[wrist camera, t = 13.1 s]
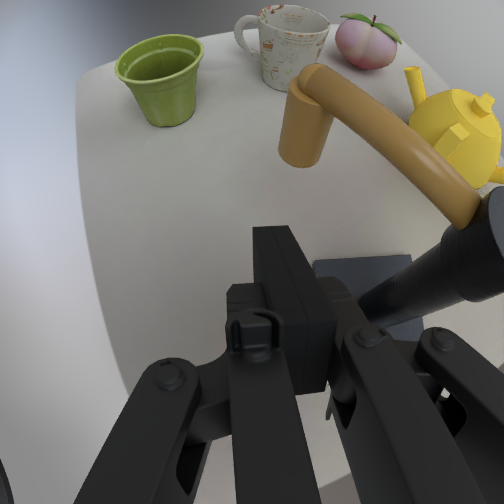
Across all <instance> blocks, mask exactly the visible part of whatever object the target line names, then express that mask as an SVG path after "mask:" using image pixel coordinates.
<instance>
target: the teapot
mask: <svg viewBox="0 0 504 504" xmlns="http://www.w3.org/2000/svg"><path fill="white" fill-rule="evenodd" d="M404 71H405V75H406V78H407V82H408V85H409V89H410V92H411V96H412V100H413V104H414V108H415V110H414V111H413V113H412V114H411V116H410V118H409V125H408V126H409V127H411V128H412V129H413V130H414V131H415V132H416V133H417V134H419V135H420V136H421V137H422V138H423V139H424V140H425V141H426V142H428V143H429V144H430V145H431V146H432V147H433V148H434V149H435V150H436V151H437V152H438V153H439V154H440V155H441V156H442V157H444V158H445V159H446V160H447V161H448V162H449V163H450V164H451V165H452V166H453V167H454V168H455V169H456V170H457V171H458V172H459V173H460V174H461V176H462V177H463V178H464V179H465V180H466V181H467V182H468V183H469V184H470V185H471V186H472V187H473V188H474V189H479V188H481V187H483V186H484V185H485V184H486V183H487V182H492V183H499V184H504V168H503V167H497V164H498V161H499V156H500V149H501V128H500V124H499V122H498V120H497V118H496V117H495V115H494V114H493V112H492V109H491V107H492V105H493V104H494V102H495V100H494V99H493V98H492V97H491V96H490V95H489V94H488V93H487V92H485V93H484V95H483V96H482V97H479V96H474V95H473V94H471V93H469V92H467V91H465V90H461V89H453V90H447V91H444V92H441V93H438V94H435V95H433V96H431V97H429V98H427V95H426V91H425V87H424V82H423V78H422V74H421V70H420V67H416V66H412V67H406V68H404Z"/></svg>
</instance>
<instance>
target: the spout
mask: <svg viewBox="0 0 504 504" xmlns="http://www.w3.org/2000/svg"><path fill="white" fill-rule="evenodd" d="M334 116H335V117H336V118H338V119H339V120H340V121H341V122H343V123H344V124H345V125H347V126H348V127H349V128H350V129H352V130H353V131H354V132H355V133H357V134H358V135H359V136H360V137H361V138H363V139H364V140H365V141H366V142H367V143H369V144H370V145H371V146H372V147H373V148H374V149H376V150H377V151H378V152H379V153H380V154H381V155H383V156H384V157H385V158H386V159H387V160H388V161H389V162H390V163H392V164H393V165H394V166H395V167H396V168H397V169H398V170H399V171H400V172H401V173H402V174H403V175H405V176H406V177H407V178H408V179H409V180H410V181H411V182H412V183H413V184H414V185H415V186H416V187H417V188H418V189H419V190H420V191H421V192H422V193H423V194H424V195H425V196H426V197H427V198H428V199H429V200H430V201H431V202H432V203H433V204H434V205H435V206H436V207H437V208H438V209H439V210H440V212H441V213H442V214H443V215H444V216H445V217H446V218H447V219H448V220H449V221H450V222H451V223H452V224H451V225H450V226H449V227H448V228H447V229H446V230H445V232H444V233H443V236H442V238H441V243H440V260H441V265H442V269H443V272H444V274H445V277H446V279H447V281H448V282H449V284H450V286H451V287H452V288H453V290H454V291H455V292H456V293H457V294H458V295H459V296H461V297H462V298H464V299H465V300H468V301H471V302H481V301H484V300H487V299H489V298H492V297H494V296H497V295H499V294H501V293H504V186H499V187H496V188H494V189H493V190H492V191H491V192H489V193H488V194H487V195H486V196H485V197H484V198H482V197H481V196H480V195H479V194H478V193H477V192H476V191H475V189H474V188H473V187H472V186H471V185H470V184H469V183H468V182H467V181H466V180H465V179H464V178H463V177H462V176H461V174H460V173H459V172H458V171H457V170H456V169H455V168H454V167H453V166H452V165H451V164H450V163H449V162H448V161H447V160H446V159H445V158H444V157H442V156H441V155H440V154H439V153H438V152H437V151H436V150H435V149H434V148H433V147H432V146H431V145H430V144H429V143H428V142H426V141H425V140H424V139H423V138H422V137H421V136H420V135H419V134H417V133H416V132H415V131H414V130H413V129H412V128H411V127H409V126H408V125H407V124H406V123H405V122H403V121H402V120H401V119H400V118H399V117H397V116H396V115H395V114H394V113H392V112H391V111H390V110H389V109H387V108H386V107H385V106H383V105H382V104H381V103H379V102H378V101H377V100H376V99H374V98H373V97H371V96H370V95H369V94H367V93H366V92H365V91H363V90H362V89H360V88H359V87H358V86H356V85H355V84H353V83H352V82H350V81H349V80H348V79H346V78H345V77H343V76H342V75H340V74H339V73H337V72H335V71H334V70H332V69H331V68H329V67H328V66H326V65H323V64H320V63H313V64H309V65H307V66H305V67H304V68H303V69H302V70H301V72H300V74H299V75H297V76H295V77H294V78H292V80H291V81H290V83H289V88H288V94H287V100H286V106H285V112H284V117H283V123H282V129H281V135H280V141H279V146H278V151H279V155H280V156H281V158H282V159H283V160H284V161H285V162H286V163H287V164H289V165H291V166H293V167H297V168H308V167H311V166H313V165H315V164H316V163H317V162H318V160H319V158H320V156H321V153H322V150H323V147H324V144H325V142H326V139H327V136H328V133H329V130H330V127H331V125H332V122H333V119H334Z"/></svg>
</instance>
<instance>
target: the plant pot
mask: <svg viewBox="0 0 504 504" xmlns="http://www.w3.org/2000/svg"><path fill="white" fill-rule="evenodd" d="M203 54H204V47H203V45H202V43H201V42H200V41H199V40H197V39H196V38H193V37H191V36H187V35H178V34H169V35H161V36H157V37H154V38H149V39H147V40H144V41H142V42H139V43H137V44H136V45H134V46H132V47H130V48H129V49H128V50H127V51H125V52H124V53H123V54H122V55H121V56H120V58H119V59H118V60H117V62H116V64H115V68H114V69H115V74H116V75H117V77H118V78H119V79H120V80H121V81H123V82H125V84H126V85H127V86H128V87H129V88H130V89H131V91H132V93H133V95H134V96H135V98H136V100H137V102H138V104H139V106H140V107H141V109H142V111H143V113H144V115H145V117H146V118H147V120H148V121H149V123H151V124H152V125H154V126H157V127H163V126H176V125H179V124H181V123H183V122H185V121H186V120H187V119H189V118H190V117H191V116H192V114H193V113H194V109H195V102H196V78H197V69H198V67H199V62H200V60H201V59H202V57H203Z"/></svg>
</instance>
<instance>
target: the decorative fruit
mask: <svg viewBox="0 0 504 504" xmlns="http://www.w3.org/2000/svg"><path fill="white" fill-rule="evenodd" d="M341 17H346V18H348V19H346V20H345V21H344V22H342V23H341V25H340V26H339V28H338V30H337V32H336V35H335V41H336V45H337V47H338V49H339V50H340V52H341V53H342V54H343V56H344V57H345V58H346V59H347V60H348V61H349V62H351V63H352V64H354V65H355V66H357V67H360V68H363V69H379V68H383V67H386V66H388V65H389V64H391V63H392V62H393V60H394V59H395V56H396V52H397V42H399V43H400V44H402V43H401V40H400V38H399V36H398V35H397V33H396V32H395V31H394V30H393V29H392V28H391V27H389V26H387V25H385V24H383V23H381V22H380V21H378V20H375V19H376V16H375V15H374V18H370V17H366V16H364V15H361V14H356V13H351V14H345V15H342V16H341Z"/></svg>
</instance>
